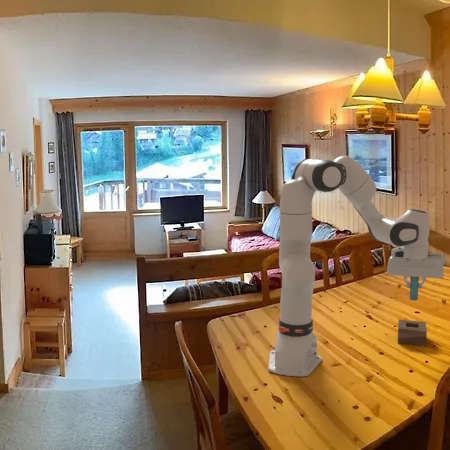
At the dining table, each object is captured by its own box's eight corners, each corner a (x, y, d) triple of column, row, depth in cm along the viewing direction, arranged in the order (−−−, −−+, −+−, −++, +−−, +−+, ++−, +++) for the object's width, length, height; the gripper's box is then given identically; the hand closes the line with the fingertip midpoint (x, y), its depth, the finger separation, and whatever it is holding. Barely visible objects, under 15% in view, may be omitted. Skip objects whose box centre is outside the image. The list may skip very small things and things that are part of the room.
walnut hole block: (425, 346, 199) (426, 331, 198) (397, 343, 202) (398, 328, 201) (424, 336, 208) (425, 322, 207) (397, 334, 211) (398, 319, 210)
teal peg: (417, 300, 200) (419, 275, 198) (409, 300, 201) (410, 274, 199) (417, 298, 203) (418, 273, 201) (409, 297, 204) (410, 272, 202)
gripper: (445, 251, 199) (443, 287, 201) (387, 248, 205) (386, 283, 207) (446, 255, 193) (444, 292, 195) (387, 252, 199) (386, 288, 201)
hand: (414, 287), depth 201 cm, fingers closed on teal peg, 3 cm apart
